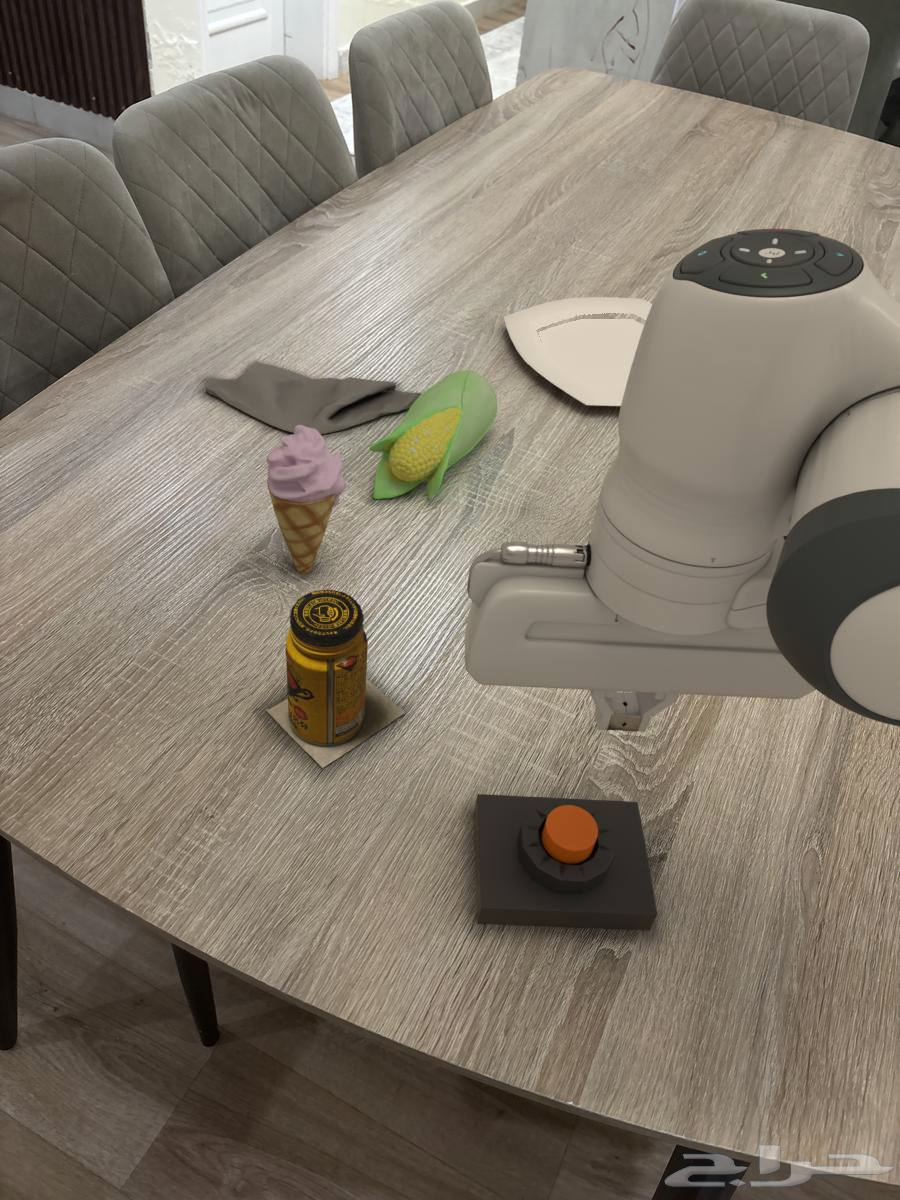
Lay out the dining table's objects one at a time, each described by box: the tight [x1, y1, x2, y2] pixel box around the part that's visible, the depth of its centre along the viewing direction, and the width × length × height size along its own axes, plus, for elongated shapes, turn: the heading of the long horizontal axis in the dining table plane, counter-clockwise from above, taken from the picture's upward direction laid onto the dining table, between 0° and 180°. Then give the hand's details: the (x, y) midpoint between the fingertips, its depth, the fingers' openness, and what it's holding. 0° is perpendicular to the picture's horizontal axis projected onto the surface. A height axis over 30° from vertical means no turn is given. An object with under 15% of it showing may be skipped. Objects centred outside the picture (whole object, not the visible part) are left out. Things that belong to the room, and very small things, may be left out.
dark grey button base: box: [473, 793, 658, 931], centre depth 66 cm, size 12×9×4 cm
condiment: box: [266, 589, 406, 769], centre depth 72 cm, size 7×8×12 cm
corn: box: [369, 369, 498, 500], centre depth 100 cm, size 8×8×20 cm
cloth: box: [204, 361, 422, 435], centre depth 107 cm, size 26×14×2 cm, turn 81°
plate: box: [503, 296, 653, 408], centre depth 121 cm, size 27×27×2 cm
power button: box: [542, 805, 598, 864], centre depth 64 cm, size 4×4×2 cm
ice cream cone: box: [266, 425, 347, 575], centre depth 83 cm, size 7×6×15 cm
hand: (619, 722), depth 58 cm, fingers closed
